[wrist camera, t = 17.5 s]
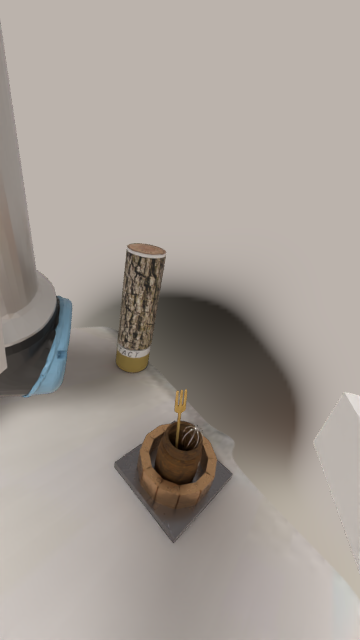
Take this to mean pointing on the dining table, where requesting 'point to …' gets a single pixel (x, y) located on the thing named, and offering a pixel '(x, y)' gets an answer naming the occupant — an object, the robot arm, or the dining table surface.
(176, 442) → the utensil holder
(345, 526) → the robot arm
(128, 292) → the paper tube
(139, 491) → the collar plate
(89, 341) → the dining table surface
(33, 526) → the dining table surface
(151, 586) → the dining table surface
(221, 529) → the dining table surface
